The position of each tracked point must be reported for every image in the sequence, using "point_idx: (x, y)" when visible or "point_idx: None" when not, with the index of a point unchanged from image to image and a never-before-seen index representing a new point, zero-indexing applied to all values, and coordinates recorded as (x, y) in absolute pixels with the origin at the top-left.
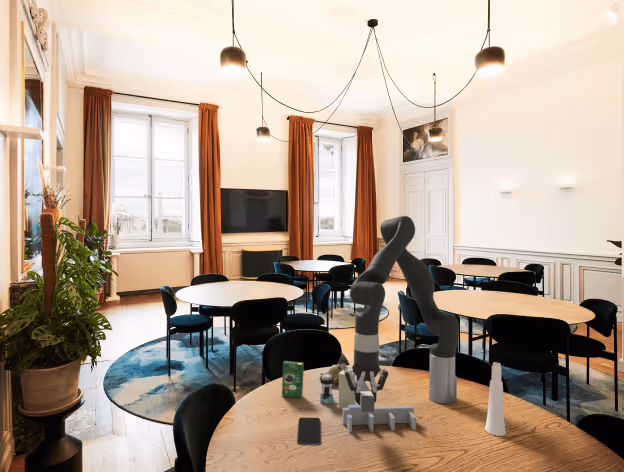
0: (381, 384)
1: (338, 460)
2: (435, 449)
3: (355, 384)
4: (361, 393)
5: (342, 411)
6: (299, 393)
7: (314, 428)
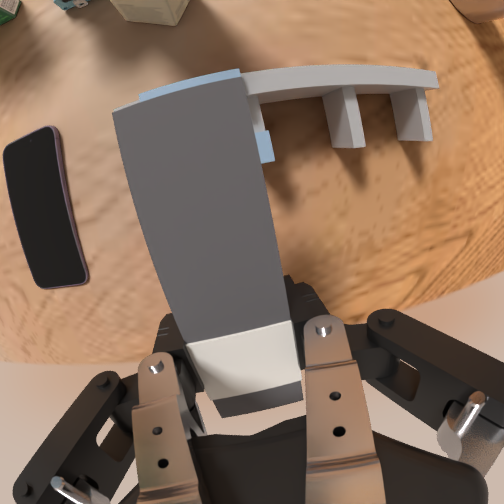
0: (400, 393)
1: None
2: (423, 243)
3: (142, 397)
4: (208, 373)
5: None
6: (2, 16)
7: (49, 201)
